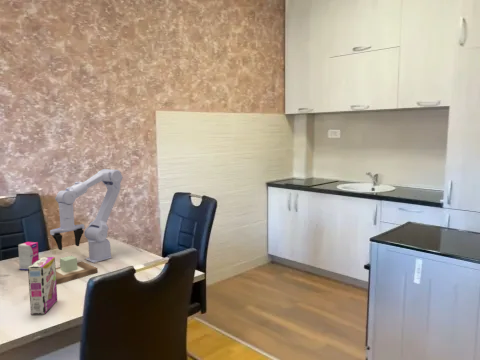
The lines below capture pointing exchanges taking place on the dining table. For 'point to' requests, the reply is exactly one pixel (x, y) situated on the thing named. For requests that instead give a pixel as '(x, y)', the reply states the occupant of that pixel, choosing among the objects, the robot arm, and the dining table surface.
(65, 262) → the sage cube
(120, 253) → the dining table surface
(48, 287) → the candy bar box
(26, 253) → the supplement box
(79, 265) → the base board
